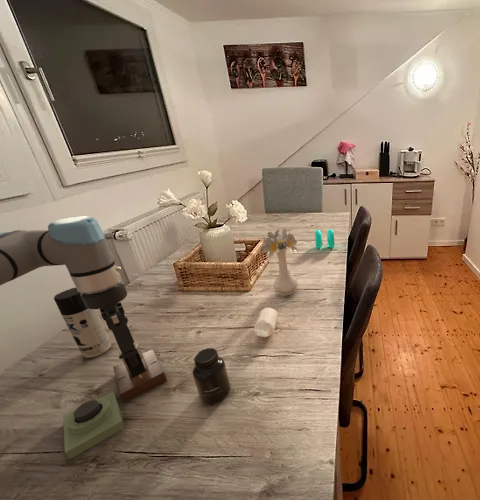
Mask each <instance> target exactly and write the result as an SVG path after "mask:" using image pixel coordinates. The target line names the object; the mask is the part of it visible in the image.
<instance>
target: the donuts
mask: <svg viewBox="0 0 480 500" xmlns="http://www.w3.org/2000/svg"><path fill="white" fill-rule="evenodd" d="M326 240H327V245H328V247H329V248H334V247H335V231H334V229H332V228H329V229H328V230H327V232H326ZM314 242H315V247H316V248H317V249H321V248H322V246H323V233H322V231H321V230H320V229H316V230H314Z"/></svg>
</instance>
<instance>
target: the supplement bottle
mask: <svg viewBox="0 0 480 500" xmlns="http://www.w3.org/2000/svg"><path fill="white" fill-rule="evenodd" d="M193 360H194V361H193V362H194V367H193V370H192V377H193V380H194V383H195V386H196V390H197V394H198V396H199V399H200V401H201V402H202V403H203V404H206V405H214V404H217V403H220V402H221V401H223V400H225V398H226V397H227V396H228V395H229V393H230V392H231V391H230V390H231V384H230V383H231V382H230V379H229V375H228V370H227V367H226V362H225V360H224V358H222V357H221V356H219V354H218V351H217V349H215V348H213V347H210V348H209V347H208V348H204V349H202V350H200V351H198V352H197V353H196V354H195V356H194V358H193Z"/></svg>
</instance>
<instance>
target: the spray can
mask: <svg viewBox="0 0 480 500" xmlns="http://www.w3.org/2000/svg"><path fill="white" fill-rule="evenodd" d="M80 293H81V292H78V290H77V288H76V287H72V288H69V289H66V290H63V291H61V292H59V293H57V294H55V295H54V296H53V300H54V302H55V305H56V306H57V309H58V311H59V312H60V314H61V316H62V319H63V320H64V323H65V324H66V326H67V328H68V330H69V332H70V334H71V336H72V338H73V340H74V341H75V344H76V345H77V348H78V349H79V352H80V353H81V355H82V356H83V357H84V358H86V359H94V358H97V357H99V356H102V355H103V354H105V353H107V352H108V351H109V350H110V349H111V347H112V342H111V340H110V336H108V333H107V331H106V329H105V327H104V324H103V322H102V320H101V318H100V316H99V314H98V311H97V309H88V308H87V307H86V306H85V304H84V302H83V300H82V298H81V296H80Z"/></svg>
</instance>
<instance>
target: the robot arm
mask: <svg viewBox="0 0 480 500" xmlns="http://www.w3.org/2000/svg"><path fill="white" fill-rule="evenodd" d="M64 265H65V267H66V269H67V271H68V274H69V276H70V278H71V281H72V282H73V284H74V286H75V288H77V290H78V292H81V293H80V296H81V298H82V300H83V302H84V304H85V306H86V307H87V308H88V309H96V310H99V311H100V315H101V317H102V320H103V321H105V323H106V326H107V328H108V330H109V331H111V332H112V334H113V336H114V338H115V341H116V344H117V346H118V348H119V350H120V351H121V353H122V355H121V356H120V355H119V356H118V359H119V360H122V359H121V358H124V360H125V362H126V364H127V367H128V369H129V371H130V373H131V375H132V377H135V376H137V375H139V374H141V373H143V372H145V371H146V369H145V367H144V365H143V362H142V360H141V358H140V355H139V353H138V351H137V348H135V346H134V344H133V343H136V342H135V340H134V338H133V335H132V333H131V330H130V328H129V326H128V323H129V318H128V317H127V316H126V315H125V313H126V312H125V308H124V306H123V304H122V301H124V300H125V299H126V298H127V296H128V291H127V289H126V285H125V283H124V282H123V281H122V277H121V275H120V273H119V271H121V270H122V267H121V266H116V262H115V260H114V258H113V256H112V253H111V250H110V247H109V244H108V242H107V239H106V235H105V233H104V232H103V229H102V228H101V226H100V224H99V222H98V220H97V219H96V218H95V217H92V216H89V215H80V216H73V217H72V216H70V217H65V218H60V219H57V220H53V221H52V222H50V223H49V224H48V225H47V229H34V230H33V229H32V230H25V229H24V230H21V229H18V230H17V229H16V230H12V231H6V232H0V286H2V285H4V284H7V283H9V282H12V281H15V280H16V279H18V278H19V277H20V278H21V277H22V276H24V275H26V274H28V273H31V272H33V271H35V270H37V269H40V268H43V267H52V266H53V267H54V266H64Z"/></svg>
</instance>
